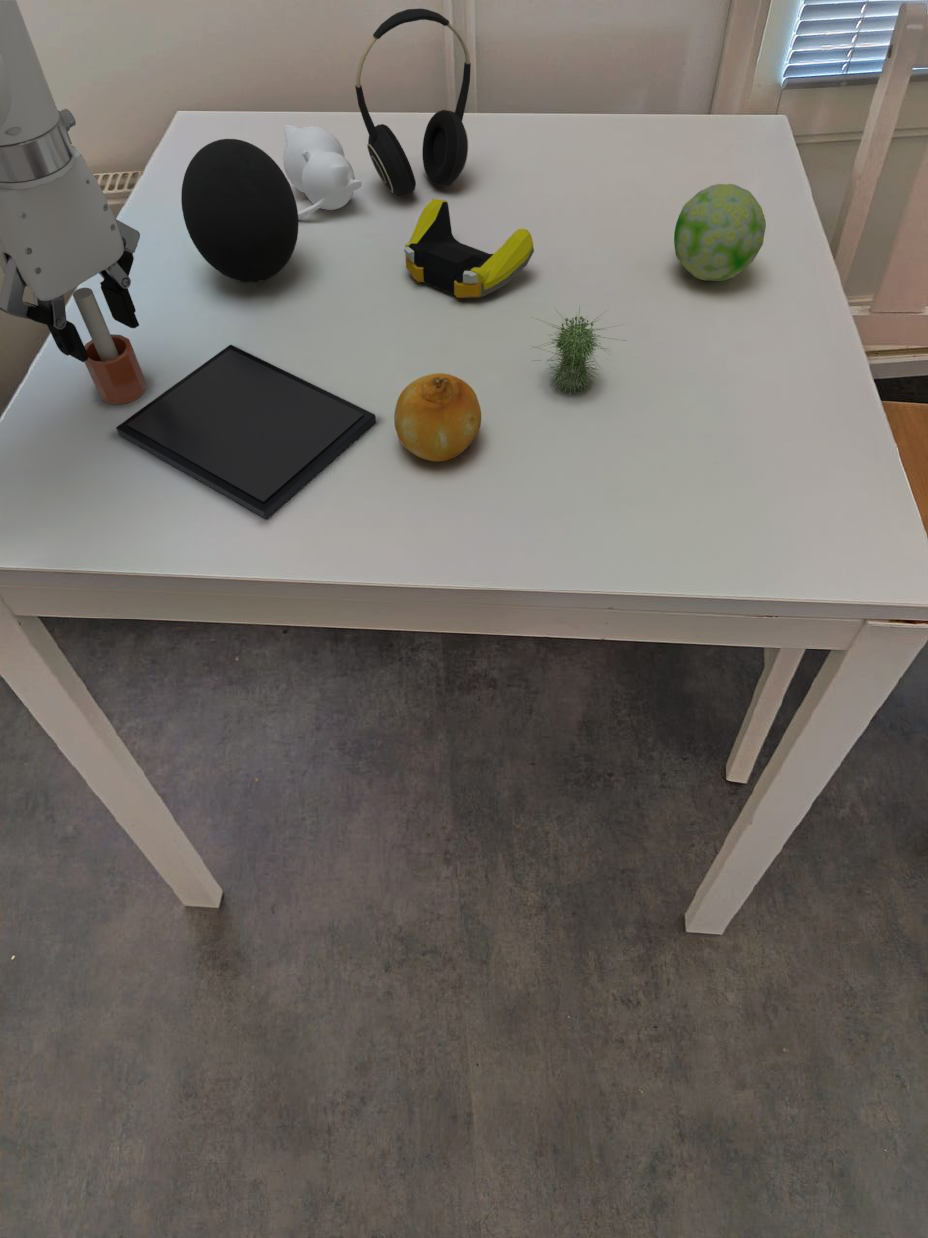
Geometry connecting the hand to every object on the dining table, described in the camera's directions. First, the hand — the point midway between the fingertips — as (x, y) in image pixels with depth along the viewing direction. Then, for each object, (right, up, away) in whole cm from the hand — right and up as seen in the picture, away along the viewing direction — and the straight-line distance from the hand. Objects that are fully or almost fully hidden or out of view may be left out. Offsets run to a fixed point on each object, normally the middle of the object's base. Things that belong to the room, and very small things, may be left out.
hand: (101, 337), depth 83 cm
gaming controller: (+35, +13, +17) cm, 41 cm away
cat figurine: (+17, +27, +27) cm, 41 cm away
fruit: (+33, -11, 0) cm, 35 cm away
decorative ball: (+64, +13, +16) cm, 67 cm away
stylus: (0, -3, +5) cm, 6 cm away
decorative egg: (+11, +13, +17) cm, 24 cm away
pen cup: (0, -4, +5) cm, 6 cm away
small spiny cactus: (+47, -3, +5) cm, 47 cm away
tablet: (+14, -9, +1) cm, 17 cm away
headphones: (+30, +29, +28) cm, 50 cm away
